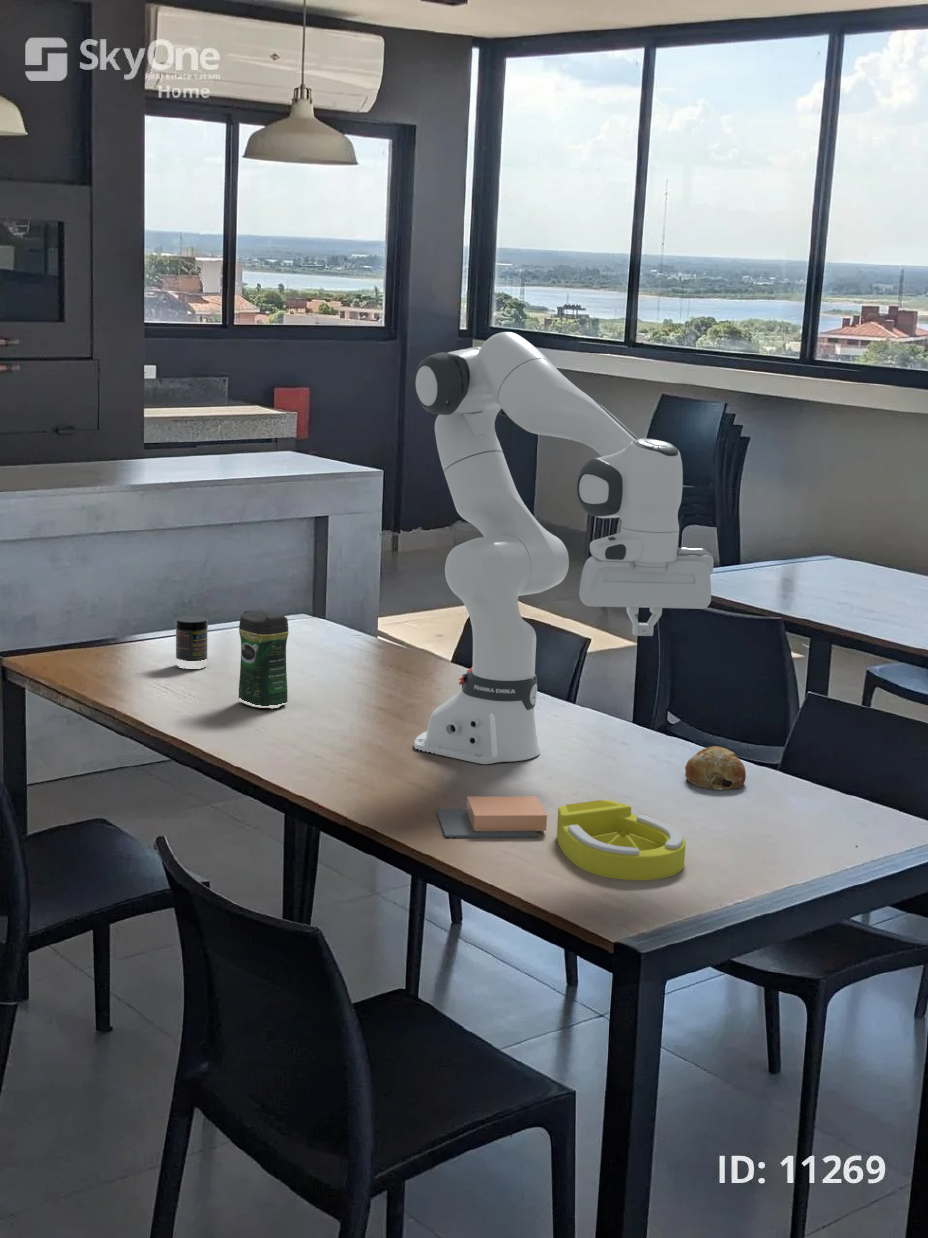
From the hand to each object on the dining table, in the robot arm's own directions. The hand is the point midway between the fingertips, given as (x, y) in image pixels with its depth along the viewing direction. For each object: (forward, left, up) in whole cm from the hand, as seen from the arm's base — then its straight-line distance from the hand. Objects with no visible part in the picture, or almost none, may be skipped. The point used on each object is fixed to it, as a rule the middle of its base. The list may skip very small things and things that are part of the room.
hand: (642, 635), depth 236 cm
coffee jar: (-82, +30, -29) cm, 92 cm away
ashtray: (+3, -19, -29) cm, 35 cm away
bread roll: (+8, +23, -29) cm, 38 cm away
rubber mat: (-19, -16, -29) cm, 38 cm away
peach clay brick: (-11, -12, -27) cm, 32 cm away
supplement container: (-110, +50, -29) cm, 124 cm away
